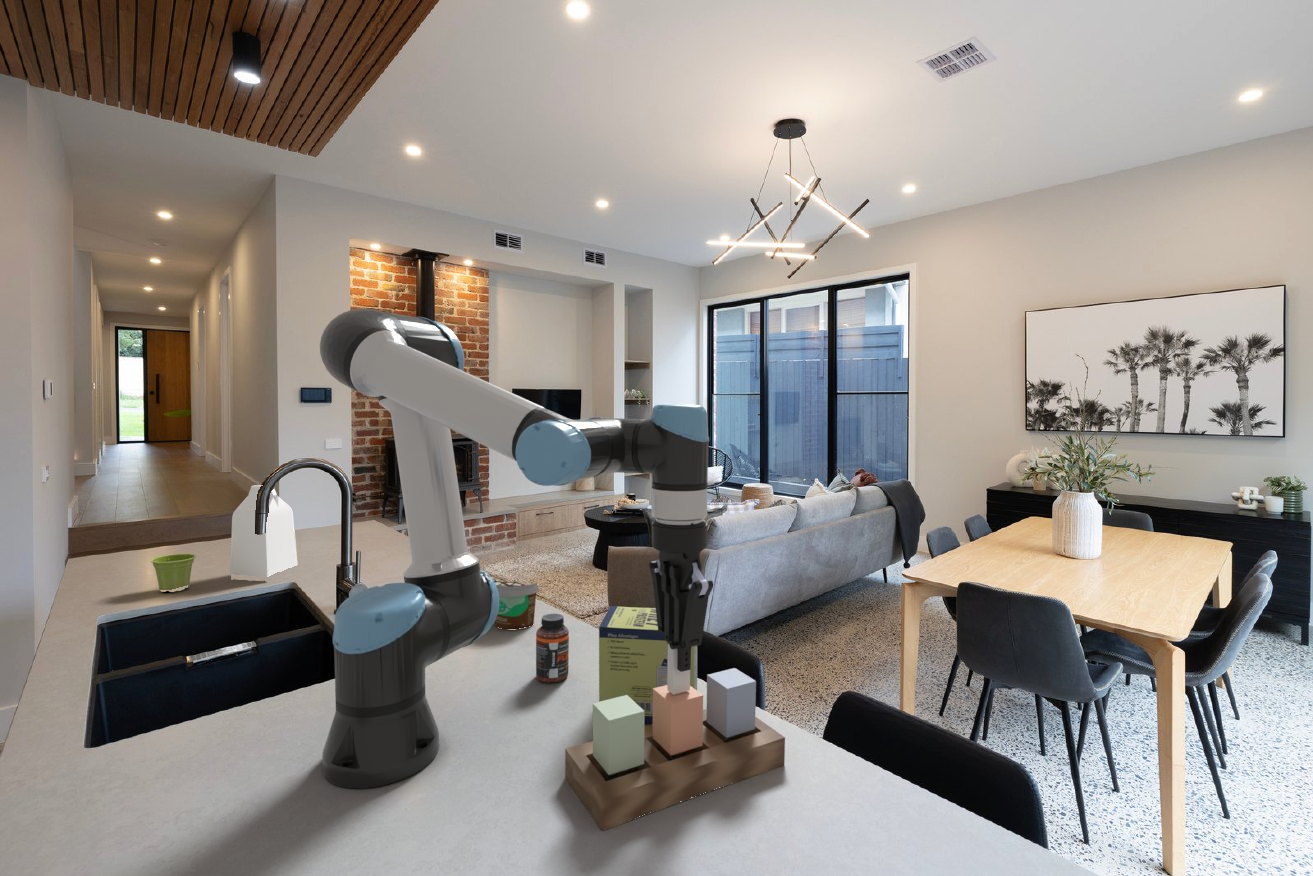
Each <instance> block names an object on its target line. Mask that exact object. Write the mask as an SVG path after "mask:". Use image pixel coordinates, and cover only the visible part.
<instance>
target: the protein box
mask: <svg viewBox="0 0 1313 876" xmlns="http://www.w3.org/2000/svg"><path fill="white" fill-rule="evenodd" d="M667 652H668V651H667V642H666V640H665V638H664V633H660V632H659V631H658V625H657V616H656V607H631V606H617V605H616V606H615V605H614V606H609V608H608V610H607V612H606V613H605V615H604V617H603V619H602V621H601V622H600V625H599V626H598V702H601V701H605V700H609V699H613V698H617V697H620V696H624V695H628V696H629V697H630V698H631V699H632V700H633V701H634V702H635V703H636V704H637V705H638V706H640V707H641V708H642V709H643V710H644V711H645V713H644V726H647V725H651V724H653V688H657V687H661V686H665V685H667V669H668V660H667V655H668V654H667ZM690 686H691V687H693V688H694V689H695V690H697V691H698V645H697V646H692V647H691V668H690Z"/></svg>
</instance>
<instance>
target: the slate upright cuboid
mask: <svg viewBox="0 0 1313 876" xmlns="http://www.w3.org/2000/svg"><path fill="white" fill-rule="evenodd" d="M756 693H757V681H756V679H753V678H752V677H750V676H749V675H747V674H745V673H744V672H742V670H741V671H740V670H739V669H737V668H735V667H733V668H729V669H725V670H721V671H717V672H713V673H710V674H709V673H708V674H706V709H707V716H706V722H707V723H709V724H710V725H711V726H712V727H714V728H715V729H716V730H717V731H719V732H720V733H721V734H722V735H724V736H725V737H726V738H728V737H731V736H734V735H737V734H741V733H744V732H747V731H750V730H753V729H755V717H756V701H757V700H756V699H757V697H756V696H757V694H756Z"/></svg>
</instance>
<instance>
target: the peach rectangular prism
mask: <svg viewBox="0 0 1313 876" xmlns="http://www.w3.org/2000/svg"><path fill="white" fill-rule="evenodd" d="M703 710H704V695H703V694H702V693H701V692H700V691H698V689H697V690H695V689H694V688H693V687H691V686H690V690H689V691H686V692H682V693H678V694H674V695H673V694H671V693H670V692H669V691H668V690H667V685H665V686H661V687H657V688H653V737H652V738H653V739H654V740H655V741H656V742H657V743H659V744H660V745H661V746H662V747H663V748H664V749H665V750H666V751H667V752H668V753H669V754H670V755H674V754H678V753H681V752H684V751H687V750H690V749H693V748H697V747H700V746H703Z"/></svg>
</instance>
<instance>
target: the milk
mask: <svg viewBox="0 0 1313 876" xmlns="http://www.w3.org/2000/svg"><path fill="white" fill-rule="evenodd" d="M261 486H262V485H258V484H257V485H251V487H250V489H249V492H248V495H247V496H246V497H245V498H244V500H243V501H242V502H241V503H240V504H239V505H238V507H237V508H235V510H234V511H233V513H232V515H231V516H232V518H231V541H230V542H231V543H230V567H229V568H230V572H229V574H235V575H248V576H260V577H269V576H271V575H273V574H275V573H277V572H282V571H284V570H286V569H288V568H292V567H294V566H297V565H299V564H298V555H297V554H298V553H297V541H296V532H295V531H296V530H295V519H294V511H293V509H292V507H291V506H290V505H289V504H288V503H287V502H285V500H283V499H282V498H281V497H280V496H278V494H277V491H276V489H275V488H274V489H273V490H272V491H271V493H270V499H269V513H268V517H267V522H266V533H264V534H263V535H261V536H259V535H257V534H255V510H256V500H257V494H258V490H259V489H260V487H261Z"/></svg>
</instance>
